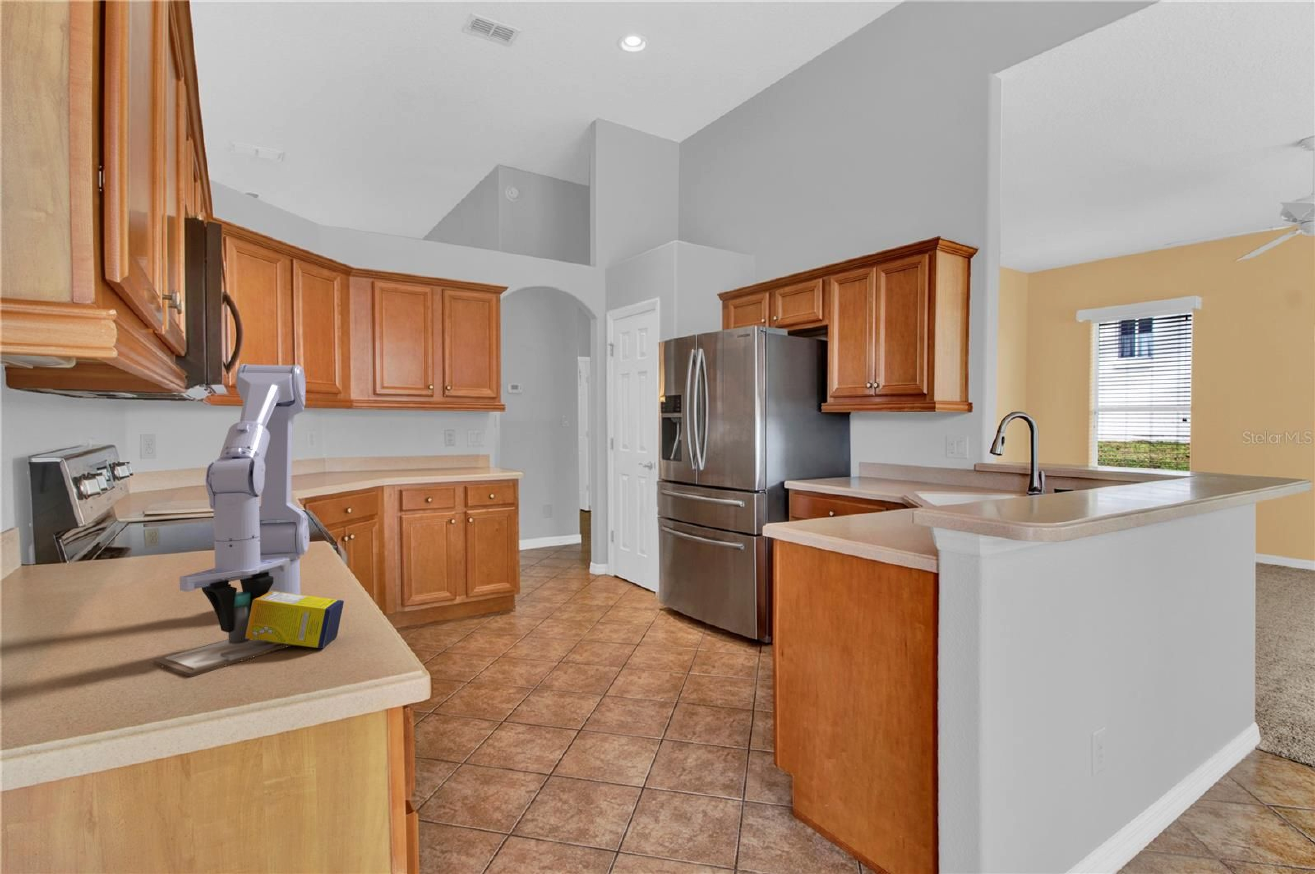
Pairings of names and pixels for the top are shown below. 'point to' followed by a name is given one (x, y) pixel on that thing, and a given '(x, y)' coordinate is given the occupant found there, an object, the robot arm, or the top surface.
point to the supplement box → (294, 619)
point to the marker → (240, 617)
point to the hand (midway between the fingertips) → (239, 627)
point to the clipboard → (215, 656)
